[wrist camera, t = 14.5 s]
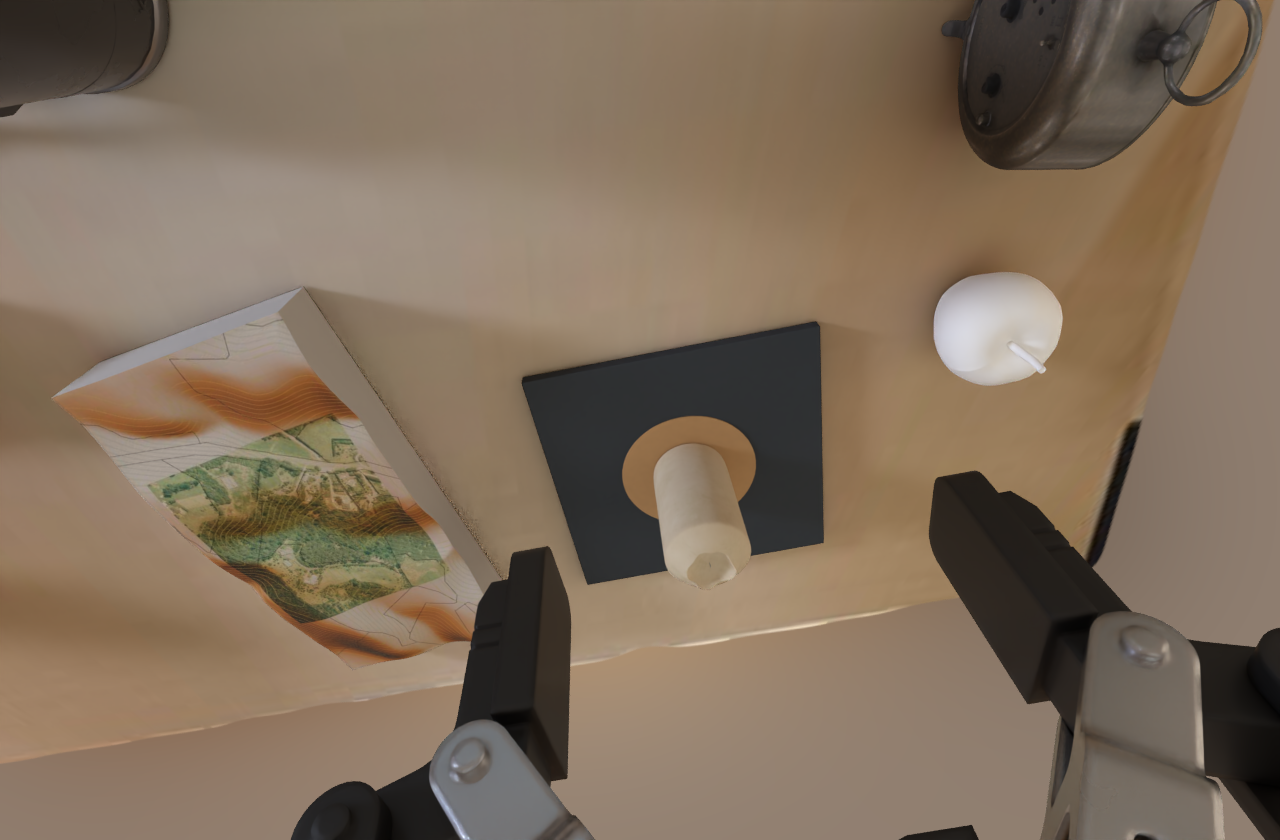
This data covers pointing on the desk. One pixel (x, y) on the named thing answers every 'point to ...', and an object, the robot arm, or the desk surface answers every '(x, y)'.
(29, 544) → the desk surface
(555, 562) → the robot arm
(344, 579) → the topographic model
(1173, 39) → the alarm clock
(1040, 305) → the plain white apple
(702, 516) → the candle
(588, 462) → the mat
